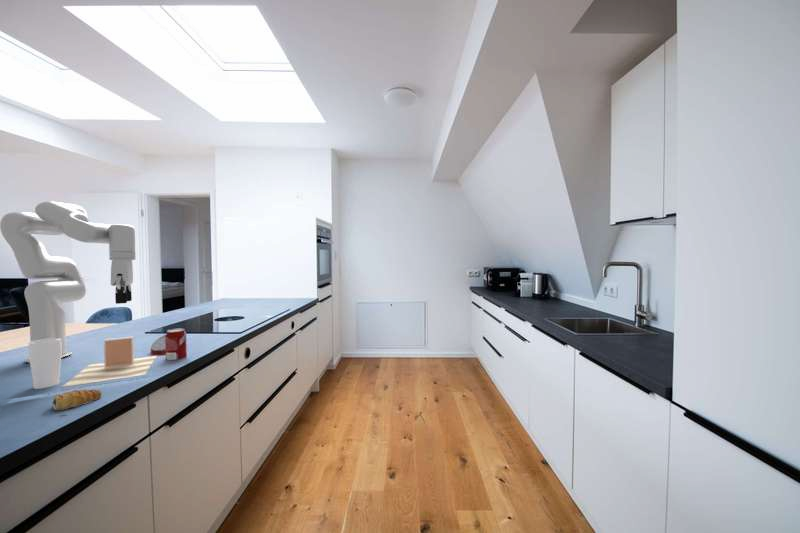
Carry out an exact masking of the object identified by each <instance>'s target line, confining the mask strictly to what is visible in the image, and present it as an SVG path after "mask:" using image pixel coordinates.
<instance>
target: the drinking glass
mask: <svg viewBox="0 0 800 533" xmlns="http://www.w3.org/2000/svg"><path fill="white" fill-rule="evenodd" d="M28 357H29V360H30V363H29V366H30V370H31V376H32V377H31V378H32V383H33V389H35V390H37V389H38V390H39V389H47V388H50V387H54V386H57V385H59V384H60V382H61V379H60V378H61V367H62V359H61V357H62V342H61V338H48V339H41V340H35V341H32V342H30V341H29V342H28Z"/></svg>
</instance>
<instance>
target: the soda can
mask: <svg viewBox="0 0 800 533" xmlns="http://www.w3.org/2000/svg"><path fill="white" fill-rule="evenodd" d="M164 335H165V347H166V354H165V360H166V361H177V360H181V359H184V358H185V359H186V358H188V354H187V351H188V348H187V345H188V344H187V332H186V331H185V328H181V327H179V328H172V329H168V330H167V331H166V334H164Z"/></svg>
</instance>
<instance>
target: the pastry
mask: <svg viewBox="0 0 800 533" xmlns="http://www.w3.org/2000/svg"><path fill="white" fill-rule="evenodd" d="M53 397H54V398H53V399H52V405H53V406H52V408H53V410H54V411H65V410H69V408H76V406H77V407H80V406H82V405H81V404H84V403H86V404H88V403H87V402H89V403H91V402H90V401H92V402H94V401H93V400H95V401H96V400H99V399H100V398H101V397H102V393H101V390H99V389H80V390H79V389H78V390H77V389H75V390H74V389H73V390H71V391H66V392H63V393H61V394H56V395H54V396H53ZM98 398H99V399H98ZM79 405H80V406H79ZM84 405H85V404H84ZM64 409H65V410H64Z"/></svg>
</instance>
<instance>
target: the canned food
mask: <svg viewBox="0 0 800 533" xmlns="http://www.w3.org/2000/svg"><path fill="white" fill-rule="evenodd" d="M165 335H166V334H164V335H162V336H160V337H159V338H157V339H156V340H155V341H154V342H152V344H151V346H150V354H151V355H152V356H158V355H166V347H165Z"/></svg>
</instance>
